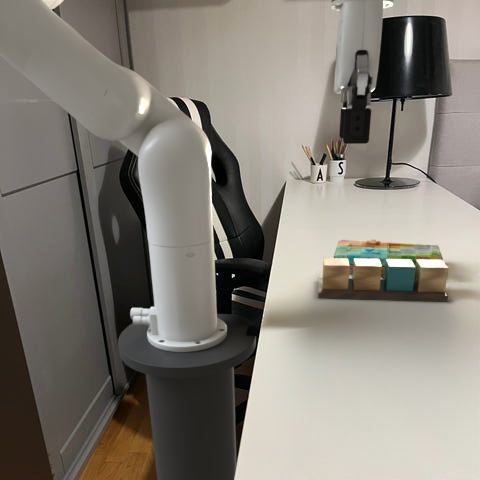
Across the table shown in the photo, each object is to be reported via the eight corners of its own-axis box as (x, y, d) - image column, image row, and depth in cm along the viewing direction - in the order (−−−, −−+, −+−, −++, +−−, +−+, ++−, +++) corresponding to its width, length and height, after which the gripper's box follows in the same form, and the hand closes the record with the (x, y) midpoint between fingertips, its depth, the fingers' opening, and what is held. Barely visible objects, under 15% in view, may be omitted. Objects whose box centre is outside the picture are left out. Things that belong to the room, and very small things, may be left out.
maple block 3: (418, 291, 86) (421, 267, 84) (413, 283, 90) (416, 259, 88) (444, 292, 85) (448, 267, 83) (438, 283, 89) (442, 260, 87)
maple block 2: (353, 290, 87) (355, 265, 85) (351, 281, 91) (353, 258, 89) (379, 290, 86) (382, 266, 85) (376, 282, 90) (378, 258, 89)
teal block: (386, 290, 86) (389, 266, 85) (383, 282, 90) (385, 258, 89) (412, 291, 86) (415, 266, 84) (408, 282, 90) (411, 259, 88)
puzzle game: (338, 236, 106) (438, 241, 101) (337, 258, 108) (435, 263, 103) (333, 251, 96) (445, 257, 91) (332, 275, 98) (441, 281, 93)
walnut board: (318, 298, 87) (318, 292, 86) (317, 282, 94) (318, 277, 93) (447, 301, 84) (448, 296, 83) (437, 285, 91) (437, 280, 91)
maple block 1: (322, 289, 88) (323, 265, 86) (321, 280, 92) (323, 257, 90) (347, 289, 87) (349, 265, 85) (346, 281, 91) (347, 258, 89)
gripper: (329, 6, 70) (323, 136, 77) (334, -21, 54) (326, 146, 61) (384, 3, 69) (374, 136, 76) (406, -25, 53) (390, 145, 60)
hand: (352, 140), depth 68 cm, fingers open, 9 cm apart
